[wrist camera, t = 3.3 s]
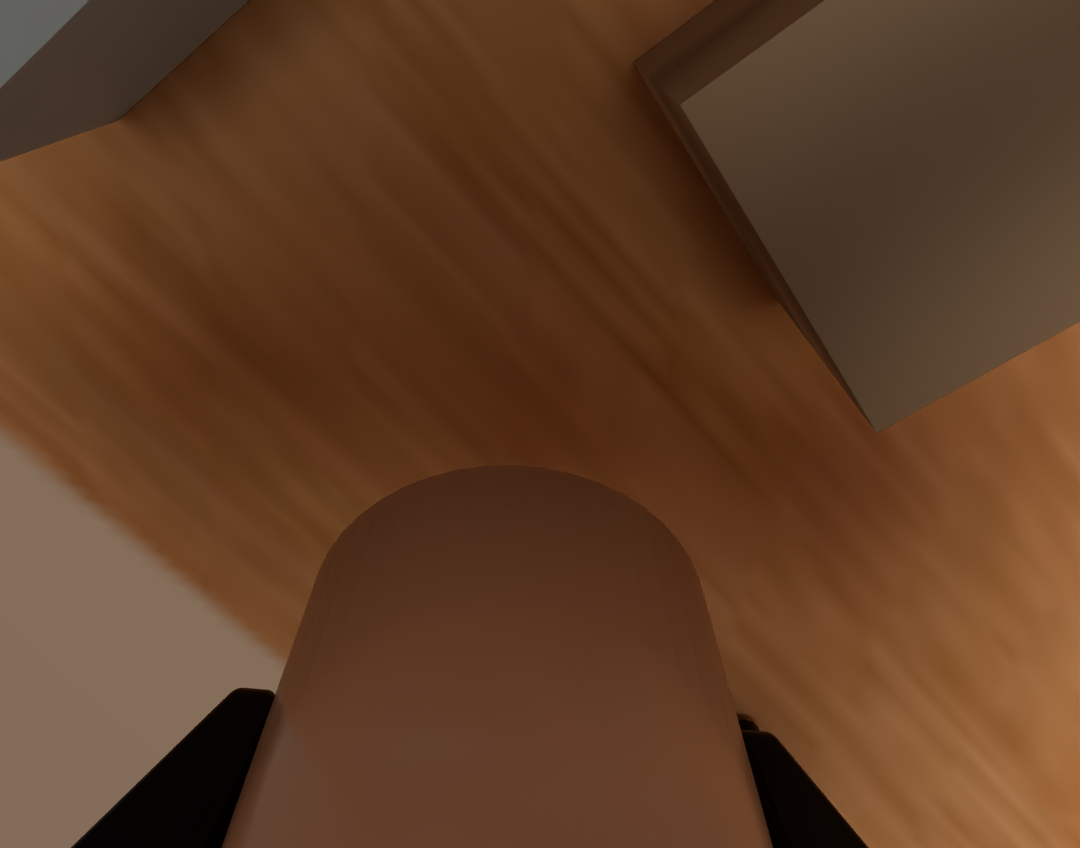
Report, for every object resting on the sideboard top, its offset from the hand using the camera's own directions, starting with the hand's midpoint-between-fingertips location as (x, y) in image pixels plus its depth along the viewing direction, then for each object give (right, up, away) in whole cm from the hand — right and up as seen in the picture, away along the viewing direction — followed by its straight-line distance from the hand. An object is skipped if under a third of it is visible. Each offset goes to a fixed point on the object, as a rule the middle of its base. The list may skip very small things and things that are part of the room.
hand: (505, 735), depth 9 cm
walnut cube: (+5, +9, +4) cm, 11 cm away
